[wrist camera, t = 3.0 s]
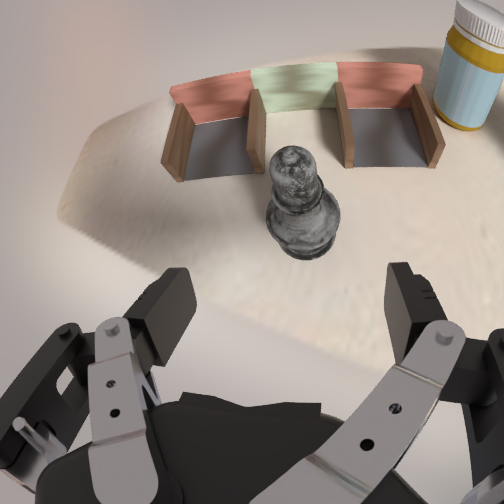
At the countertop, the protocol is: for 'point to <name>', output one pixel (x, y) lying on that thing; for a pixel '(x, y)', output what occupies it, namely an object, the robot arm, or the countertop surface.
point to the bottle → (470, 66)
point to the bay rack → (302, 98)
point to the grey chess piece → (300, 205)
